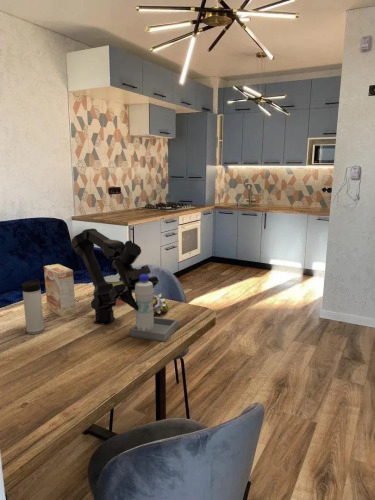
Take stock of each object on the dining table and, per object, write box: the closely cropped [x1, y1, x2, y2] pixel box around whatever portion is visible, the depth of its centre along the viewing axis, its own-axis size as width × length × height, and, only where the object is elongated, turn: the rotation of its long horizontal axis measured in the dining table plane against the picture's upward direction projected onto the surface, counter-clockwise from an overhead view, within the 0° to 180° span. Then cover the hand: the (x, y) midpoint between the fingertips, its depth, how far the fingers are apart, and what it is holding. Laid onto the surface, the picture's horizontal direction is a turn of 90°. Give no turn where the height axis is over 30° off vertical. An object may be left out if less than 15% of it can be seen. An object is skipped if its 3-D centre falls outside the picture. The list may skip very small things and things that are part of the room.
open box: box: [129, 316, 180, 343], centre depth 144 cm, size 14×14×3 cm
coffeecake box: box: [43, 263, 77, 317], centre depth 166 cm, size 15×7×20 cm, turn 42°
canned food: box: [103, 274, 128, 308], centre depth 176 cm, size 11×11×12 cm
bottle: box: [134, 274, 155, 331], centre depth 133 cm, size 7×7×20 cm
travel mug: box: [21, 278, 45, 335], centre depth 144 cm, size 6×7×20 cm
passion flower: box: [153, 292, 169, 316], centre depth 164 cm, size 11×11×12 cm
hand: (145, 307), depth 133 cm, fingers closed on bottle, 6 cm apart
